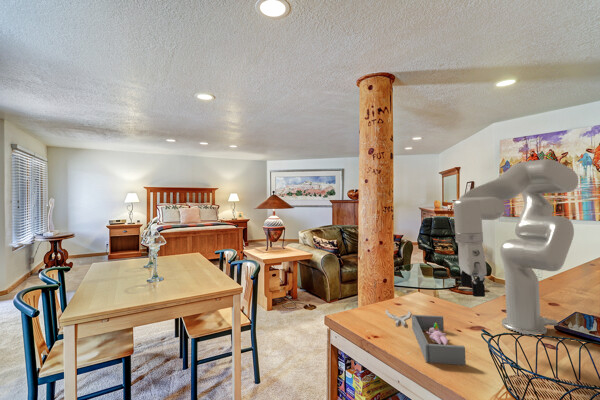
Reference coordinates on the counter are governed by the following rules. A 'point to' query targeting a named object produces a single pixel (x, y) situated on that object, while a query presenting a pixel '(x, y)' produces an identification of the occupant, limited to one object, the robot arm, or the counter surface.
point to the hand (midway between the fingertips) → (472, 290)
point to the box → (436, 351)
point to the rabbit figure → (437, 335)
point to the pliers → (399, 320)
